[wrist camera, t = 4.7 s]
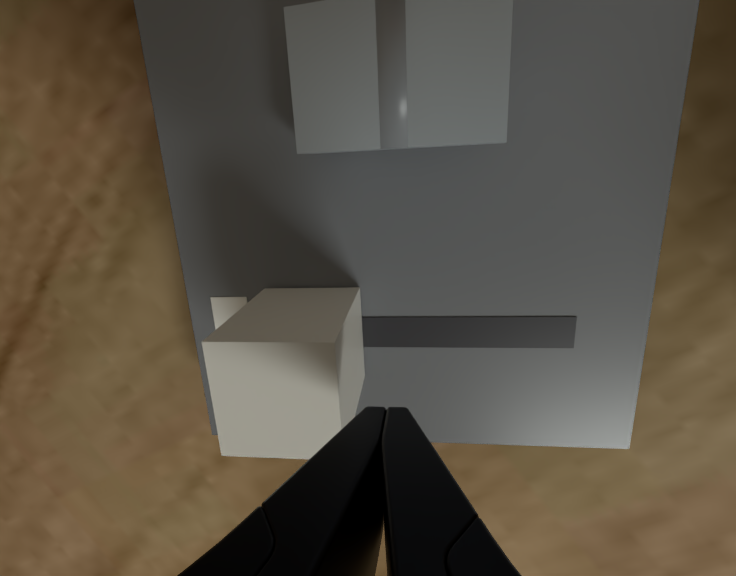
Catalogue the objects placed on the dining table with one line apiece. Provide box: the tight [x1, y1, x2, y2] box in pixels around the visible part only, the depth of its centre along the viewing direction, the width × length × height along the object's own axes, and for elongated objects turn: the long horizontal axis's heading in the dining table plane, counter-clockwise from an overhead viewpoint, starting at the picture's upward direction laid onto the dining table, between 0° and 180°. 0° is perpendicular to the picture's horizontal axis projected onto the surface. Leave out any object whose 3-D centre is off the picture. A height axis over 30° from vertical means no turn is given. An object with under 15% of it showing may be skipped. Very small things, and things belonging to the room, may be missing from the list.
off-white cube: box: [202, 287, 365, 459], centre depth 11 cm, size 3×3×4 cm
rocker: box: [283, 0, 513, 154], centre depth 10 cm, size 5×3×1 cm, turn 93°
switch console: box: [134, 0, 699, 449], centre depth 12 cm, size 14×22×3 cm, turn 3°
